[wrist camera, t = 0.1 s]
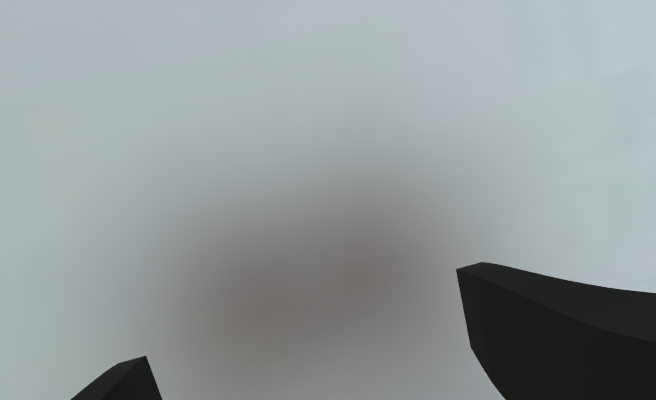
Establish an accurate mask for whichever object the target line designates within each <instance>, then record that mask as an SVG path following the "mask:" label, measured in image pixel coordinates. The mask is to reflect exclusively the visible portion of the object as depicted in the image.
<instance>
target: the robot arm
mask: <svg viewBox="0 0 656 400" xmlns="http://www.w3.org/2000/svg"><path fill="white" fill-rule="evenodd" d="M456 272H457V277H458V282H459V287H460V293H461V298H462V303H463V309H464V314H465V319H466V324H467V330H468V335H469V340H470V345H471V349H472V350H473V352H474V354H475V355H476V357H477V359H478V360H479V362H480V364H481V366H482V367H483V369H484V370H485V372H486V374H487V375H488V377H489V378H490V380H491V382H492V383H493V384H494V386H495V387H496V388H497V389H498V391H499V392H500V393H501V394H502V396H503V397H504V398H505V399H506V400H656V293H648V292H639V291H630V290H621V289H614V288H607V287H601V286H595V285H589V284H584V283H578V282H573V281H568V280H563V279H559V278H554V277H549V276H545V275H541V274H537V273H532V272H528V271H524V270H520V269H516V268H511V267H507V266H502V265H498V264H492V263H484V262H481V263H477V264H473V265H470V266H466V267H463V268H459V269H456ZM71 400H162V398H161V395H160V392H159V390H158V387H157V384H156V381H155V379H154V376H153V373H152V371H151V368H150V365H149V363H148V360H147V357H146V356H143V357H140V358H136V359H132V360H129V361H125V362H122V363H118V364H117V365H115V366H113V367H112V368H110V369H109V370H107V371H106V372H105V373H103V374H102V375H101V376H99V377H98V378H97V379H95V380H94V381H93V382H92V383H90V384H89V385H88V386H87V387H86V388H84V389H83V390H82V391H81V392H79V393H78V394H77V395H76V396H75V397H73V398H72V399H71Z"/></svg>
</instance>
